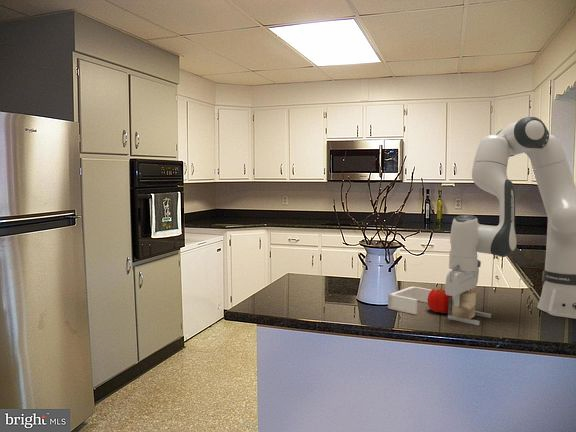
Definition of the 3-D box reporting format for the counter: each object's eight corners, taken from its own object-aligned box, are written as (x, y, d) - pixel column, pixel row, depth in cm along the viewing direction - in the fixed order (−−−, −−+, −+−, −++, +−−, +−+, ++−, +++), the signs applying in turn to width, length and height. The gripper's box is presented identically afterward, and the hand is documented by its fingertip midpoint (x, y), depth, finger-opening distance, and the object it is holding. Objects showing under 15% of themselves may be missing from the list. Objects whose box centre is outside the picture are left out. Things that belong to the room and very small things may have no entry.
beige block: (475, 315, 162) (477, 292, 161) (468, 320, 157) (469, 296, 156) (456, 311, 166) (457, 288, 166) (447, 315, 161) (449, 292, 160)
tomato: (437, 306, 173) (438, 286, 172) (458, 313, 166) (460, 291, 165) (420, 310, 168) (421, 289, 167) (441, 317, 160) (442, 295, 160)
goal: (438, 304, 177) (438, 290, 176) (415, 314, 163) (415, 300, 162) (411, 298, 183) (412, 286, 183) (387, 308, 170) (388, 294, 169)
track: (491, 317, 161) (491, 314, 161) (478, 325, 152) (478, 321, 152) (461, 311, 168) (461, 308, 167) (447, 318, 159) (447, 315, 158)
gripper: (460, 269, 150) (458, 312, 152) (482, 261, 166) (480, 300, 167) (441, 266, 154) (439, 308, 156) (464, 258, 170) (462, 297, 171)
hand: (460, 304), depth 162 cm, fingers open, 5 cm apart
